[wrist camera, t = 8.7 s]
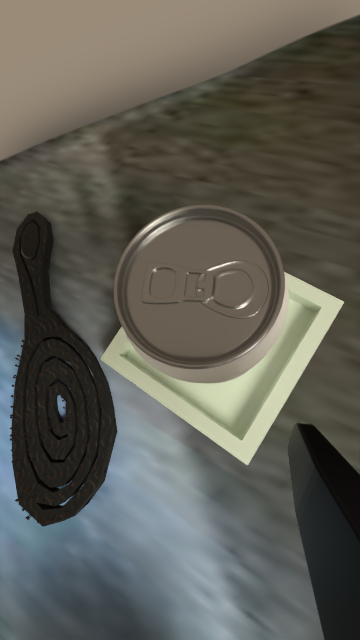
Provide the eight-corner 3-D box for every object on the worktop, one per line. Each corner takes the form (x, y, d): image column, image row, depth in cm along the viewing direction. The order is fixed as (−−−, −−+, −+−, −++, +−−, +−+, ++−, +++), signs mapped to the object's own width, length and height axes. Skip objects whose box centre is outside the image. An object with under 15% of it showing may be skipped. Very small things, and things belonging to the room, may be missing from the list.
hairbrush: (59, 182, 24) (109, 516, 17) (82, 209, 28) (131, 496, 20) (-26, 214, 25) (-15, 545, 18) (6, 236, 28) (27, 520, 21)
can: (258, 388, 20) (295, 397, 8) (166, 377, 21) (85, 370, 9) (264, 298, 21) (304, 192, 9) (177, 292, 22) (117, 193, 10)
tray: (333, 309, 20) (344, 302, 18) (245, 457, 19) (247, 465, 17) (193, 237, 23) (189, 224, 22) (111, 361, 22) (100, 359, 20)
